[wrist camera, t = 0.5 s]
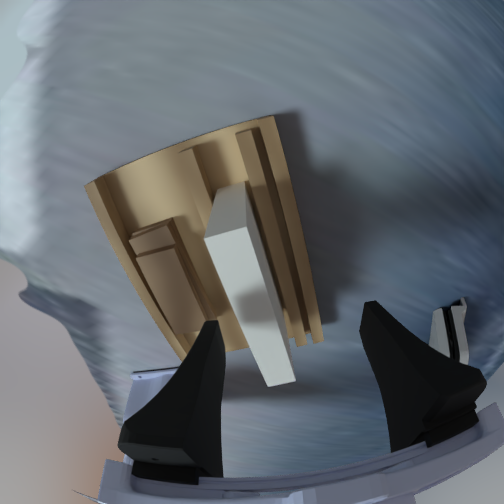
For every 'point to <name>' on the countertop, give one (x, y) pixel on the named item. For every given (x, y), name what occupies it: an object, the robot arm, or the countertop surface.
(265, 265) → the white rectangular block
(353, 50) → the countertop surface
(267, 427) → the countertop surface
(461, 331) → the grey curved slab
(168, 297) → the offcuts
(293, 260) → the rack
